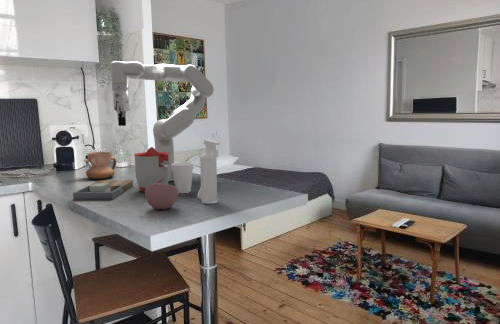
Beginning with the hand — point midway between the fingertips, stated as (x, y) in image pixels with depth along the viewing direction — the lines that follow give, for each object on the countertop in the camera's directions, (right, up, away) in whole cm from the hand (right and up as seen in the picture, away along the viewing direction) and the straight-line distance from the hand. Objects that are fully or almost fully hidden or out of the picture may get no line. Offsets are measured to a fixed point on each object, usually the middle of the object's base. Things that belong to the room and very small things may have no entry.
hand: (122, 125), depth 185 cm
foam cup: (+33, -32, -18) cm, 49 cm away
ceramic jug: (-18, -27, +20) cm, 38 cm away
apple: (+30, -36, -45) cm, 65 cm away
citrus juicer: (+19, -31, -13) cm, 39 cm away
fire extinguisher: (+46, -34, -35) cm, 68 cm away
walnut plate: (-2, -31, -10) cm, 32 cm away
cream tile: (-2, -32, -22) cm, 38 cm away
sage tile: (-2, -30, -23) cm, 38 cm away
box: (-2, -33, -24) cm, 40 cm away
